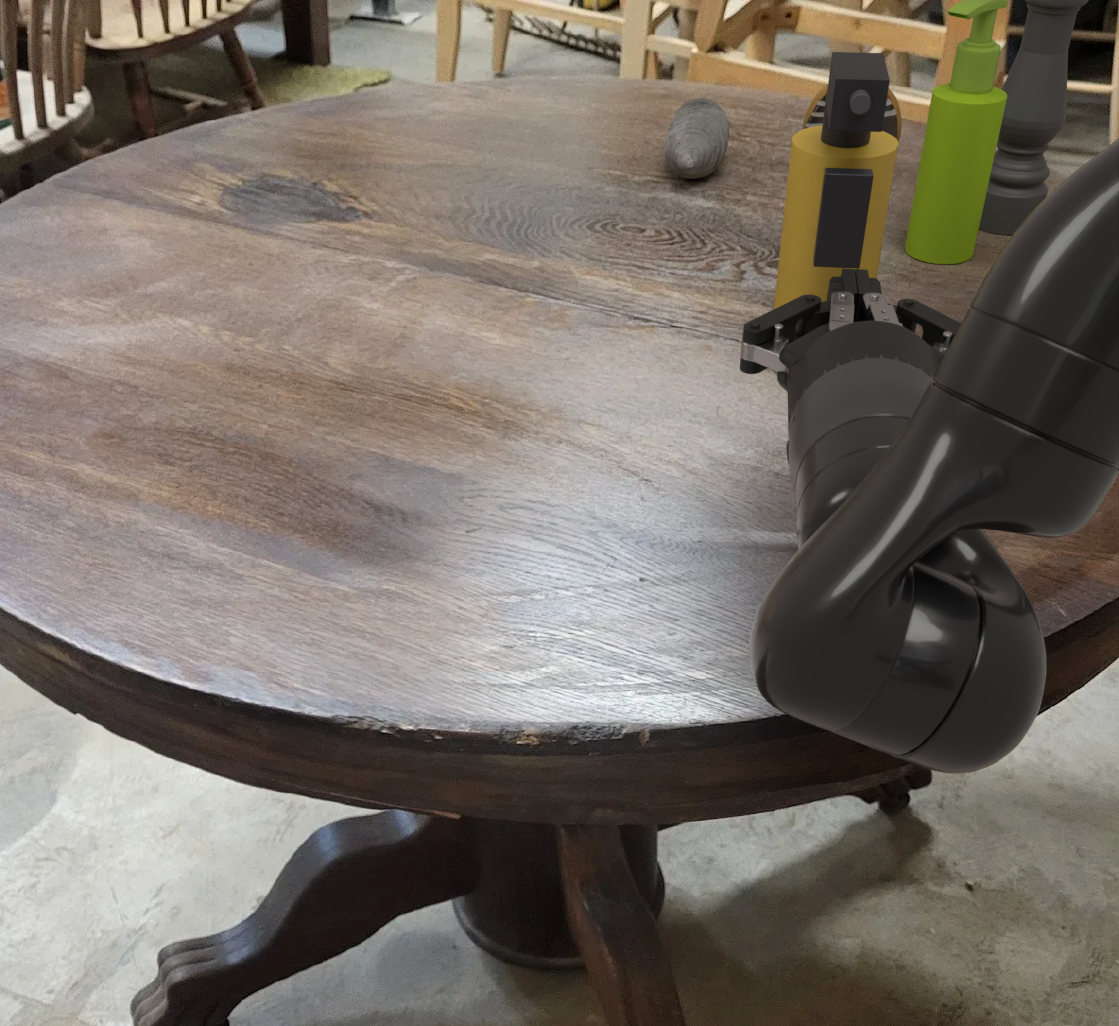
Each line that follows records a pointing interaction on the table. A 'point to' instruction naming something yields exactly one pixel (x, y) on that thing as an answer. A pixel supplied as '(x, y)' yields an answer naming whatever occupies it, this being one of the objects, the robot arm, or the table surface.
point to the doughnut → (891, 116)
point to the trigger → (842, 217)
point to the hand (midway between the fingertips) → (851, 285)
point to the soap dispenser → (959, 145)
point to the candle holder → (1030, 115)
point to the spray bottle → (837, 144)
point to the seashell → (697, 138)
